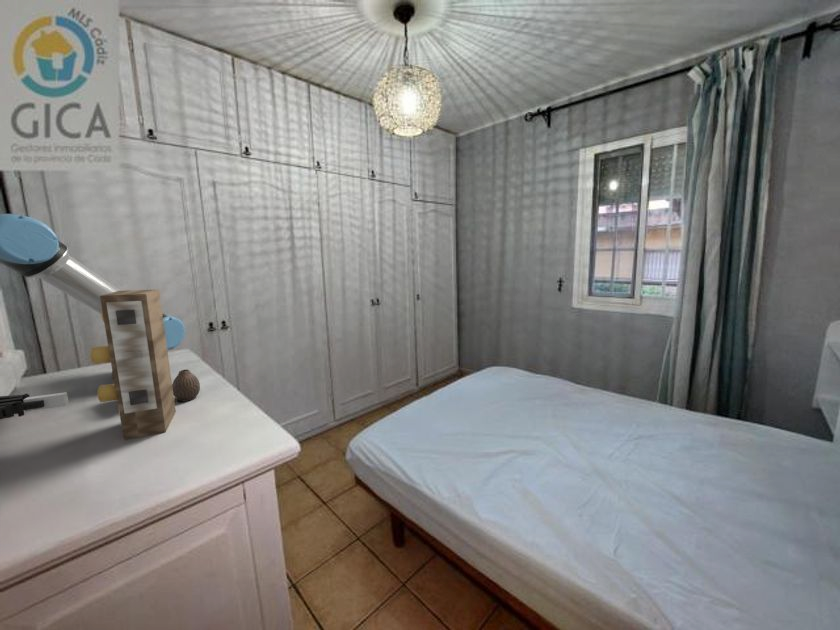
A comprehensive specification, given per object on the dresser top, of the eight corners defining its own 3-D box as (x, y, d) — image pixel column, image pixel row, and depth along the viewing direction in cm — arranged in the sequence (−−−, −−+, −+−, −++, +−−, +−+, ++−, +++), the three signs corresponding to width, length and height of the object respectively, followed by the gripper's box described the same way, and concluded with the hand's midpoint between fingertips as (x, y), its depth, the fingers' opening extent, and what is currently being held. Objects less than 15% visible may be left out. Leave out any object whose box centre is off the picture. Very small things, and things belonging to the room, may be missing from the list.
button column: (122, 441, 77) (98, 296, 72) (139, 417, 89) (119, 290, 83) (165, 433, 81) (145, 294, 75) (175, 411, 92) (159, 289, 86)
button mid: (92, 366, 77) (89, 349, 76) (99, 361, 80) (96, 345, 79) (114, 363, 78) (112, 347, 78) (120, 359, 82) (118, 343, 81)
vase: (187, 404, 97) (183, 375, 95) (167, 402, 98) (163, 373, 97) (206, 394, 104) (203, 367, 102) (188, 392, 105) (184, 366, 103)
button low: (99, 404, 78) (96, 388, 77) (105, 398, 82) (103, 383, 81) (121, 401, 80) (118, 385, 79) (126, 395, 83) (124, 380, 83)
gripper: (-63, 423, 73) (81, 403, 83) (-122, 455, 61) (54, 426, 72) (-72, 391, 72) (76, 374, 82) (-134, 417, 60) (47, 393, 70)
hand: (65, 398), depth 77 cm, fingers closed
